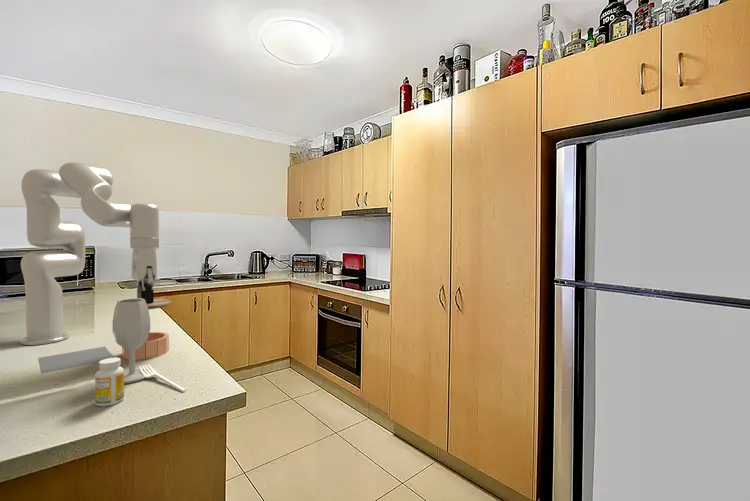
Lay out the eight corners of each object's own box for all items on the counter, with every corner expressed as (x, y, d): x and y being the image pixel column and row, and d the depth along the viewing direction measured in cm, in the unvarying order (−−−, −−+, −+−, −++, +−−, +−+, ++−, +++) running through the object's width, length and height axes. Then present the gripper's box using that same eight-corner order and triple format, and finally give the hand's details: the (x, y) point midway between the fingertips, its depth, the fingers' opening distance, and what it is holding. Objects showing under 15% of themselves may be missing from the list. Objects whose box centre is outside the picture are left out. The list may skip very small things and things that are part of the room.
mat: (38, 361, 106) (38, 357, 105) (105, 349, 117) (105, 346, 117) (42, 376, 94) (41, 373, 94) (115, 362, 106) (115, 358, 106)
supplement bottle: (98, 409, 78) (97, 366, 77) (92, 401, 81) (91, 360, 81) (127, 401, 82) (127, 360, 81) (120, 394, 85) (120, 354, 85)
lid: (113, 305, 111) (113, 286, 111) (163, 299, 121) (163, 282, 121) (123, 312, 101) (123, 291, 101) (177, 306, 111) (177, 287, 111)
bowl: (118, 355, 112) (118, 336, 111) (161, 347, 120) (161, 329, 120) (128, 365, 103) (127, 345, 103) (173, 356, 112) (173, 337, 112)
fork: (177, 395, 86) (178, 388, 86) (137, 373, 96) (137, 366, 96) (190, 391, 88) (191, 383, 88) (149, 369, 99) (150, 363, 99)
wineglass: (158, 375, 97) (158, 299, 96) (125, 387, 89) (124, 304, 88) (138, 369, 101) (137, 296, 100) (104, 380, 93) (103, 301, 92)
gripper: (124, 243, 113) (124, 299, 114) (137, 244, 102) (138, 307, 102) (151, 243, 119) (151, 297, 119) (166, 244, 107) (167, 304, 108)
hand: (145, 301), depth 111 cm, fingers closed on lid, 4 cm apart
